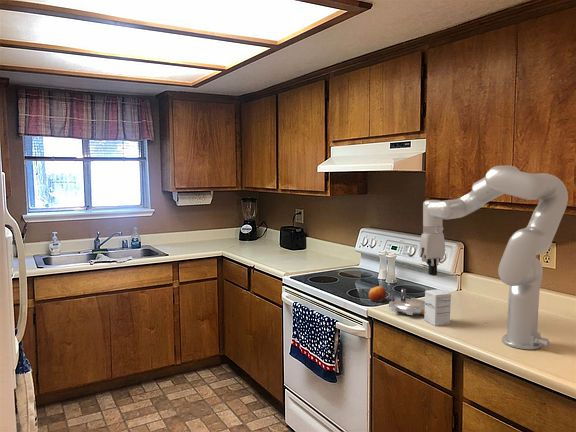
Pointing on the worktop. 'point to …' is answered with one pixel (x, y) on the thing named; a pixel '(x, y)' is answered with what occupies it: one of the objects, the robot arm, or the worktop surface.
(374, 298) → the fruit
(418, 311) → the silver knobbed tray
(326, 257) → the worktop surface
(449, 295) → the supplement box
